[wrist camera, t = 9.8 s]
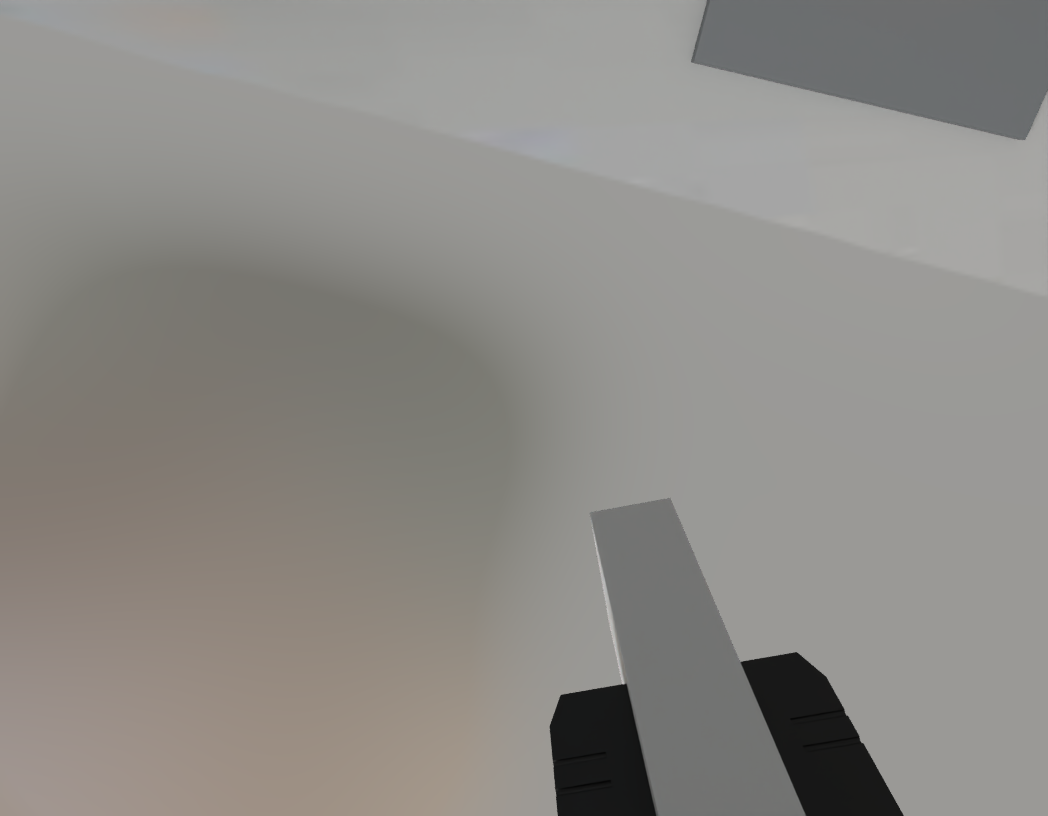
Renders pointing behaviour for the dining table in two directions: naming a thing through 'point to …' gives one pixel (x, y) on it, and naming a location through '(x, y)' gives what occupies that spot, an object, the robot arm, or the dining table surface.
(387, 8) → the dining table surface
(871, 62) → the mat
